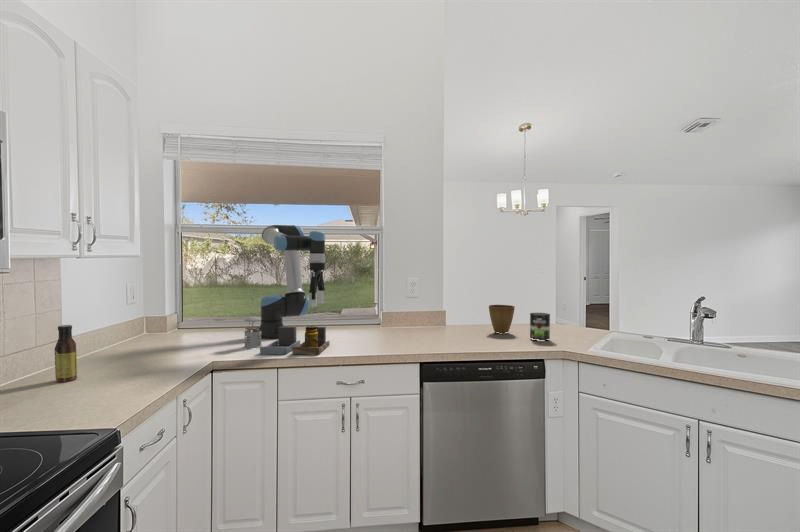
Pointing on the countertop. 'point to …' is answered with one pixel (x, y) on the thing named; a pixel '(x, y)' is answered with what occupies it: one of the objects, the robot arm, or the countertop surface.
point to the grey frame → (282, 342)
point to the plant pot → (501, 317)
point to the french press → (252, 333)
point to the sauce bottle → (65, 355)
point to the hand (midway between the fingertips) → (317, 304)
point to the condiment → (311, 336)
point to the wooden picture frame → (313, 350)
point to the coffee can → (540, 326)
